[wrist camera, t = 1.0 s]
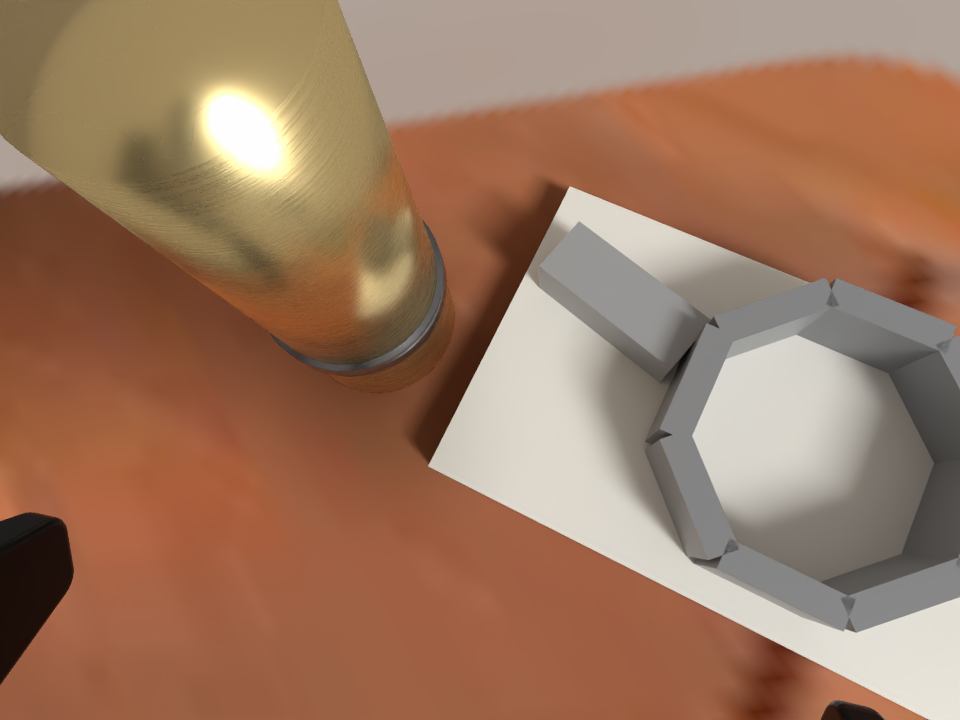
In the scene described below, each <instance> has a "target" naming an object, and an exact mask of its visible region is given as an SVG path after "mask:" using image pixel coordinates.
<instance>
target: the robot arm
mask: <svg viewBox="0 0 960 720" xmlns="http://www.w3.org/2000/svg"><path fill="white" fill-rule="evenodd" d="M73 574H74V567H73V561H72V555H71V549H70V543H69V537H68V531H67V527H66V525H65V523H64V522H63V521H62V520H61V519H59V518H56V517H52V516H48V515H43V514H39V513H32V512H29V513H24V514H20V515H17V516H14V517H12V518H9V519H6V520H3V521H0V685H1V683H2V682H3V681H4V679H5V678H6V676H7V675H8V674H9V672H10V671H11V669H12V668H13V667H14V665H15V664H16V662H17V661H18V660H19V658H20V657H21V655H22V654H23V653H24V651H25V650H26V648H27V647H28V646H29V644H30V643H31V641H32V640H33V639H34V637H35V636H36V634H37V633H38V632H39V630H40V629H41V627H42V626H43V625H44V623H45V622H46V620H47V619H48V618H49V616H50V615H51V613H52V612H53V611H54V609H55V608H56V606H57V605H58V604H59V602H60V601H61V599H62V598H63V597H64V595H65V594H66V592H67V591H68V589H69V587H70V585H71V582H72V579H73ZM821 720H885V719H884V718H883V717H882V716H881V715H880V714H879V713H878V712H876V711H875V710H873V709H871V708H869V707H865V706H861V705H856V704H852V703H848V702H844V701H839V700H838V701H833V702H831V703H830V704H829V705H828V706H827V708H826V709H825V711H824V713H823V716H822V718H821Z"/></svg>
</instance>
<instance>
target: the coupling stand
mask: <svg viewBox="0 0 960 720" xmlns="http://www.w3.org/2000/svg"><path fill="white" fill-rule="evenodd" d="M956 327H957V326H955V325H953V324H950V323H948V322H945V321H943V320H940V319H938V318H935V317H933V316H930V315H928V314H925V313H923V312H920V311H918V310H915V309H913V308H910V307H908V306H905V305H903V304H900V303H898V302H895V301H892V300H890V299H887V298H885V297H882V296H880V295H877V294H875V293H872V292H870V291H867V290H865V289H862V288H860V287H857V286H855V285H852V284H850V283H847V282H845V281H842V280H840V279H837V278H836V279H835V280H834V281H832V282H831V283H830V284H828V282H827V280H826V278H824V279H821V280H818V281H815V282H812V283H809V282H806V281H804V280H801V279H799V278H796V277H794V276H791V275H789V274H786V273H784V272H781V271H779V270H776V269H774V268H771V267H769V266H766V265H764V264H761V263H759V262H756V261H754V260H752V259H749V258H747V257H744V256H742V255H739V254H737V253H734V252H732V251H729V250H727V249H724V248H722V247H719V246H717V245H714V244H712V243H709V242H707V241H704V240H702V239H699V238H697V237H694V236H692V235H689V234H687V233H684V232H682V231H679V230H677V229H674V228H672V227H669V226H667V225H664V224H662V223H660V222H657V221H655V220H652V219H650V218H647V217H645V216H642V215H640V214H637V213H635V212H632V211H630V210H627V209H625V208H622V207H620V206H617V205H615V204H612V203H610V202H607V201H605V200H602V199H600V198H597V197H595V196H592V195H590V194H587V193H585V192H582V191H580V190H577V189H575V188H573V187H569V189H568V191H567V193H566V195H565V197H564V199H563V201H562V203H561V205H560V207H559V209H558V211H557V213H556V215H555V217H554V219H553V221H552V223H551V225H550V227H549V229H548V231H547V233H546V235H545V237H544V238H543V240H542V242H541V244H540V246H539V248H538V250H537V252H536V254H535V256H534V258H533V260H532V262H531V264H530V266H529V268H528V270H527V272H526V274H525V276H524V278H523V280H522V282H521V284H520V286H519V288H518V290H517V292H516V294H515V296H514V298H513V300H512V302H511V304H510V306H509V308H508V310H507V312H506V313H505V315H504V317H503V319H502V321H501V323H500V325H499V327H498V329H497V331H496V333H495V335H494V337H493V339H492V341H491V343H490V345H489V347H488V349H487V351H486V353H485V355H484V357H483V359H482V361H481V363H480V365H479V367H478V369H477V371H476V373H475V375H474V377H473V379H472V381H471V383H470V385H469V387H468V388H467V390H466V392H465V394H464V396H463V398H462V400H461V402H460V404H459V406H458V408H457V410H456V412H455V414H454V416H453V418H452V420H451V422H450V424H449V426H448V428H447V430H446V432H445V434H444V436H443V438H442V440H441V442H440V444H439V446H438V448H437V450H436V452H435V454H434V456H433V458H432V460H431V462H430V463H429V465H428V466H429V467H430V468H432V469H434V470H436V471H438V472H440V473H442V474H444V475H446V476H448V477H450V478H452V479H454V480H456V481H458V482H460V483H462V484H464V485H466V486H468V487H470V488H472V489H474V490H476V491H477V492H479V493H481V494H483V495H485V496H487V497H489V498H491V499H493V500H495V501H497V502H499V503H501V504H503V505H505V506H507V507H509V508H511V509H513V510H515V511H517V512H519V513H521V514H523V515H525V516H527V517H529V518H531V519H533V520H535V521H537V522H539V523H541V524H543V525H545V526H547V527H549V528H551V529H553V530H555V531H557V532H559V533H561V534H562V535H564V536H566V537H568V538H570V539H572V540H574V541H576V542H578V543H580V544H582V545H584V546H586V547H588V548H590V549H592V550H594V551H596V552H598V553H600V554H602V555H604V556H606V557H608V558H610V559H612V560H614V561H616V562H618V563H620V564H622V565H624V566H626V567H628V568H630V569H632V570H634V571H636V572H638V573H640V574H642V575H644V576H646V577H648V578H649V579H651V580H653V581H655V582H657V583H659V584H661V585H663V586H665V587H667V588H669V589H671V590H673V591H675V592H677V593H679V594H681V595H683V596H685V597H687V598H689V599H691V600H693V601H695V602H697V603H699V604H701V605H703V606H705V607H707V608H709V609H711V610H713V611H715V612H717V613H719V614H721V615H723V616H725V617H727V618H729V619H731V620H733V621H734V622H736V623H738V624H740V625H742V626H744V627H746V628H748V629H750V630H752V631H754V632H756V633H758V634H760V635H762V636H764V637H766V638H768V639H770V640H772V641H774V642H776V643H778V644H780V645H782V646H784V647H786V648H788V649H790V650H792V651H794V652H796V653H798V654H800V655H802V656H804V657H806V658H808V659H810V660H812V661H814V662H816V663H818V664H820V665H821V666H823V667H825V668H827V669H829V670H831V671H833V672H835V673H837V674H839V675H841V676H843V677H845V678H847V679H849V680H851V681H853V682H855V683H857V684H859V685H861V686H863V687H865V688H867V689H869V690H871V691H873V692H875V693H877V694H879V695H881V696H883V697H885V698H887V699H889V700H891V701H893V702H895V703H897V704H899V705H901V706H903V707H905V708H906V709H908V710H910V711H912V712H914V713H916V714H918V715H920V716H922V717H924V718H926V719H928V720H960V336H957V337H955V338H952V337H953V335H954V332H955V329H956Z"/></svg>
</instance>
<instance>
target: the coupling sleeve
mask: <svg viewBox="0 0 960 720" xmlns="http://www.w3.org/2000/svg"><path fill="white" fill-rule="evenodd" d="M0 134H1V135H2V136H3V138H4V139H6V140H7V141H8V142H9V143H10V144H11V145H13V146H14V147H15V148H16V149H17V150H19V151H20V152H21V153H22V154H24V155H25V156H26V157H28V158H29V159H31V160H32V161H33V162H35V163H36V164H38V165H39V166H40V167H42V168H43V169H44V170H46V171H47V172H49V173H50V174H51V175H53V176H54V177H56V178H57V179H58V180H60V181H61V182H62V183H64V184H65V185H67V186H68V187H69V188H71V189H72V190H73V191H75V192H76V193H78V194H79V195H80V196H82V197H83V198H85V199H86V200H87V201H89V202H90V203H91V204H93V205H94V206H96V207H97V208H98V209H100V210H101V211H103V212H104V213H105V214H107V215H108V216H109V217H111V218H112V219H114V220H115V221H116V222H118V223H119V224H120V225H122V226H123V227H125V228H126V229H127V230H129V231H130V232H132V233H133V234H134V235H136V236H137V237H138V238H140V239H141V240H143V241H144V242H145V243H147V244H148V245H150V246H151V247H152V248H154V249H155V250H156V251H158V252H159V253H161V254H162V255H163V256H165V257H166V258H167V259H169V260H170V261H172V262H173V263H174V264H176V265H177V266H179V267H180V268H181V269H183V270H184V271H185V272H187V273H188V274H190V275H191V276H192V277H194V278H195V279H197V280H198V281H199V282H201V283H202V284H203V285H205V286H206V287H208V288H209V289H210V290H212V291H213V292H214V293H216V294H217V295H219V296H220V297H221V298H223V299H224V300H226V301H227V302H228V303H230V304H231V305H232V306H234V307H235V308H237V309H238V310H239V311H241V312H242V313H243V314H245V315H246V316H248V317H249V318H250V319H252V320H253V321H255V322H256V323H257V324H259V325H260V326H261V327H263V328H264V329H266V330H267V331H268V332H270V334H271V335H272V337H273V338H274V339H275V340H276V341H277V343H278V344H279V345H280V346H281V347H282V348H283V349H285V350H286V351H287V352H288V353H289V354H291V355H292V356H294V357H295V358H296V359H298V360H299V361H301V362H302V363H304V364H306V365H307V366H309V367H311V368H313V369H315V370H318V371H320V372H323V373H326V374H328V375H329V376H331V377H332V378H333V379H335V380H336V381H338V382H339V383H341V384H343V385H345V386H347V387H349V388H352V389H355V390H359V391H363V392H370V393H383V392H391V391H395V390H399V389H402V388H404V387H407V386H409V385H411V384H413V383H415V382H417V381H419V380H420V379H421V378H423V377H424V376H426V375H427V374H428V373H429V372H430V371H431V370H432V369H433V368H434V367H435V366H436V365H437V364H438V362H439V361H440V360H441V358H442V357H443V355H444V354H445V352H446V350H447V348H448V346H449V344H450V341H451V338H452V334H453V329H454V321H455V312H454V304H453V300H452V296H451V294H450V291H449V288H448V286H447V280H446V270H445V266H444V262H443V258H442V256H441V253H440V250H439V248H438V245H437V243H436V240H435V238H434V236H433V234H432V233H431V231H430V229H429V227H428V226H427V225H426V224H425V222H424V221H423V220H422V218H421V216H420V213H419V211H418V208H417V205H416V203H415V200H414V198H413V195H412V192H411V190H410V187H409V185H408V182H407V180H406V177H405V174H404V172H403V169H402V167H401V164H400V161H399V159H398V156H397V154H396V151H395V148H394V146H393V143H392V141H391V138H390V135H389V133H388V130H387V128H386V125H385V122H384V120H383V117H382V115H381V112H380V110H379V107H378V105H377V102H376V99H375V97H374V94H373V91H372V89H371V86H370V84H369V81H368V78H367V76H366V73H365V71H364V68H363V65H362V63H361V60H360V58H359V55H358V52H357V50H356V47H355V45H354V42H353V40H352V37H351V34H350V32H349V29H348V27H347V24H346V22H345V19H344V16H343V14H342V11H341V8H340V6H339V3H338V1H337V0H0Z"/></svg>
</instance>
